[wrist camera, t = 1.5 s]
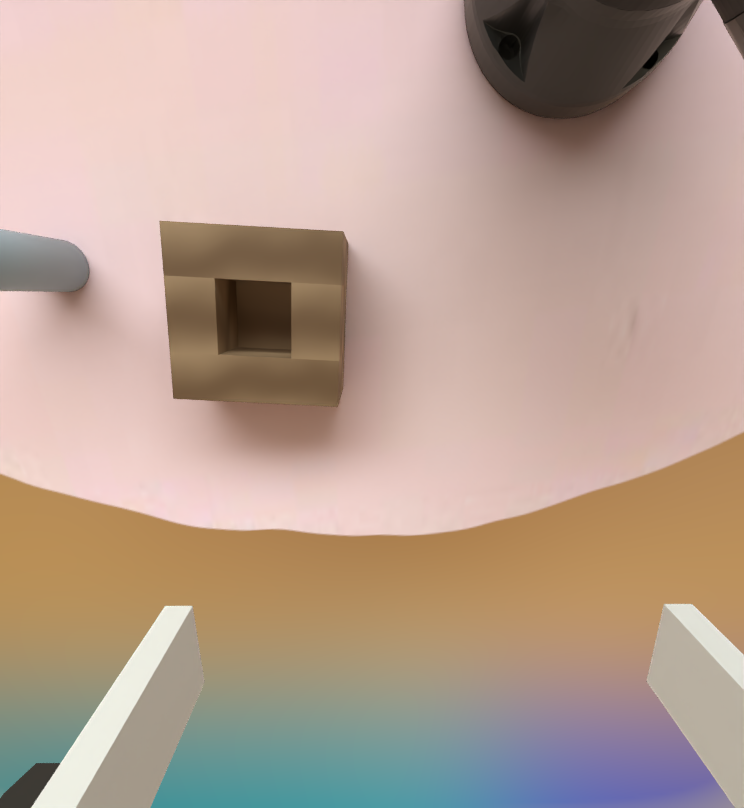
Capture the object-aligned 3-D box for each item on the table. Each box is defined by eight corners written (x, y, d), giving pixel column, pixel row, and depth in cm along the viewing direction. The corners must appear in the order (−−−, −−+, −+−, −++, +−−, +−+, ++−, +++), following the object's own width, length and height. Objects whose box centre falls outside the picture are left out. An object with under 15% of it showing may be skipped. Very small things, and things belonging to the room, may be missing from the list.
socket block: (197, 234, 32) (159, 220, 26) (348, 243, 32) (343, 231, 26) (206, 381, 35) (173, 398, 29) (342, 388, 35) (337, 406, 29)
